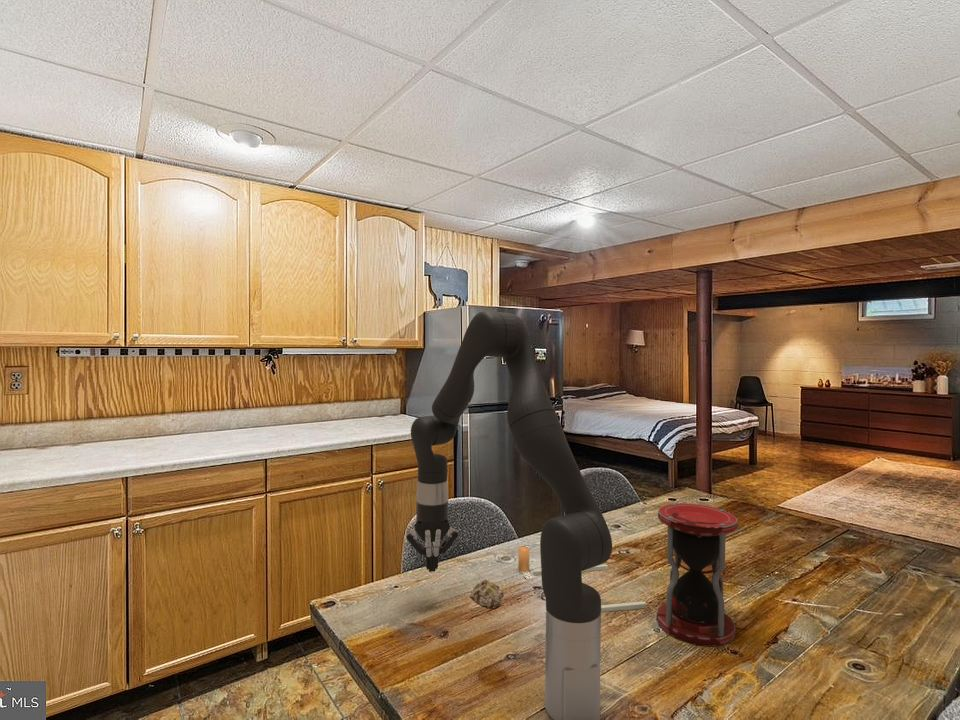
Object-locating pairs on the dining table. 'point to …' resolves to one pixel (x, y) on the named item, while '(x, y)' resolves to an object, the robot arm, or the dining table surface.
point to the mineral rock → (487, 594)
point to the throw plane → (524, 567)
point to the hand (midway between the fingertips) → (431, 570)
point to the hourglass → (696, 574)
